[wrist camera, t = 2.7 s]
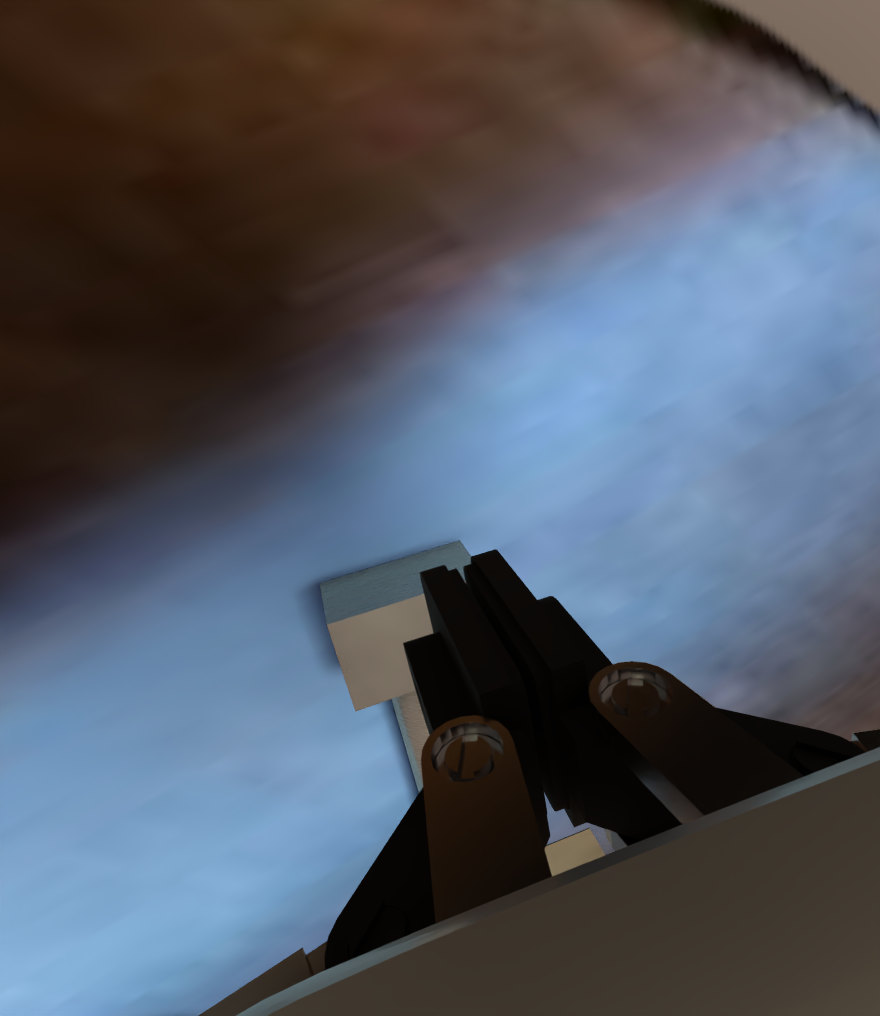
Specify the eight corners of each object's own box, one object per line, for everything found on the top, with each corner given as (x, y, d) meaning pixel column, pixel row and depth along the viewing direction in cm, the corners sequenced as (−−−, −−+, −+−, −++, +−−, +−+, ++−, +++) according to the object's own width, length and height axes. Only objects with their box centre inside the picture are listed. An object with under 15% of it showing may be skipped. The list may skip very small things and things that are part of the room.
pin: (319, 582, 23) (326, 625, 20) (459, 540, 24) (484, 574, 21) (413, 872, 30) (427, 930, 28) (516, 831, 31) (540, 883, 29)
